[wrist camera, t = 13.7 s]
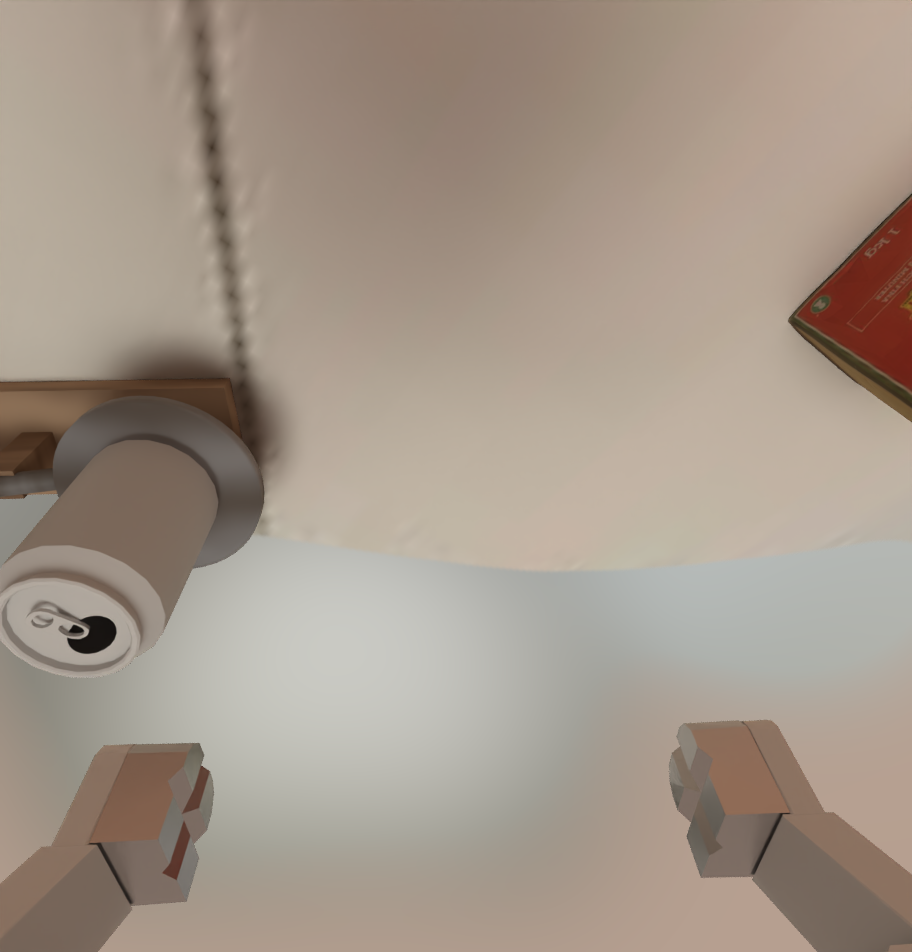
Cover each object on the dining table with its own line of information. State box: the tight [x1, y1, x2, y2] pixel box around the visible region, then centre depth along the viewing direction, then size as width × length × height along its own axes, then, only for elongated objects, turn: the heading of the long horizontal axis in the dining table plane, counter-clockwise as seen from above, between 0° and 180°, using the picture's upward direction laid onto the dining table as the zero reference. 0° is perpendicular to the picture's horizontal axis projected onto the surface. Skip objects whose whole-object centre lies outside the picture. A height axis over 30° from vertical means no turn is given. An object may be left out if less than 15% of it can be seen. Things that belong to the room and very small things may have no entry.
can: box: [0, 440, 218, 678], centre depth 34 cm, size 8×8×12 cm
